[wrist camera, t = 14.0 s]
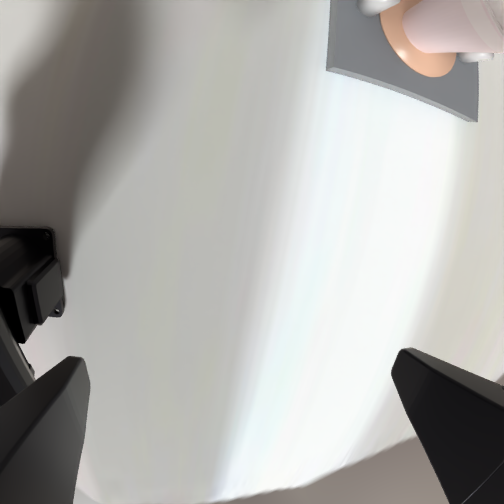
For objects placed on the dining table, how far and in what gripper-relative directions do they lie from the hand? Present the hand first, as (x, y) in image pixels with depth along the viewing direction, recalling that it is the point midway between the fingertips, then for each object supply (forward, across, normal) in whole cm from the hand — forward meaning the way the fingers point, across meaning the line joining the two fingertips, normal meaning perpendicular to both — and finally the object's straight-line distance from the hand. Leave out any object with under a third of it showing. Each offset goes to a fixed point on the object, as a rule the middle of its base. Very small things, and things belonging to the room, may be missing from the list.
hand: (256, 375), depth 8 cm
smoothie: (+12, -13, -17) cm, 24 cm away
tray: (+13, -13, -17) cm, 25 cm away
